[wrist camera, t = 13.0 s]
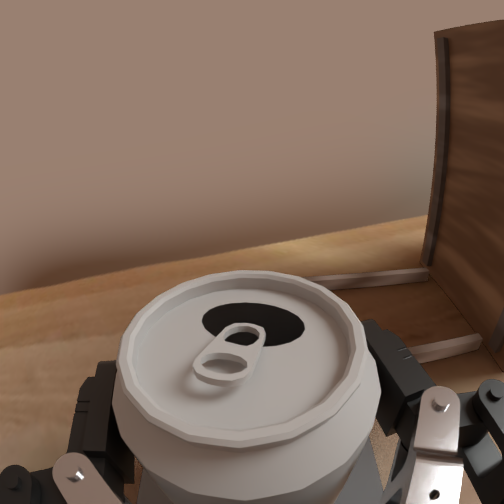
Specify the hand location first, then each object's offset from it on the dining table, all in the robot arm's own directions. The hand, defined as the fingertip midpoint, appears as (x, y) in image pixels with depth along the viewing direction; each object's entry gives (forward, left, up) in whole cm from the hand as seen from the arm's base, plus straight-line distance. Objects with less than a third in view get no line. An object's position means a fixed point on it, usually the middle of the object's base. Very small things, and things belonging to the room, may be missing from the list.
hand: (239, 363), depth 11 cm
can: (0, -2, -9) cm, 9 cm away
